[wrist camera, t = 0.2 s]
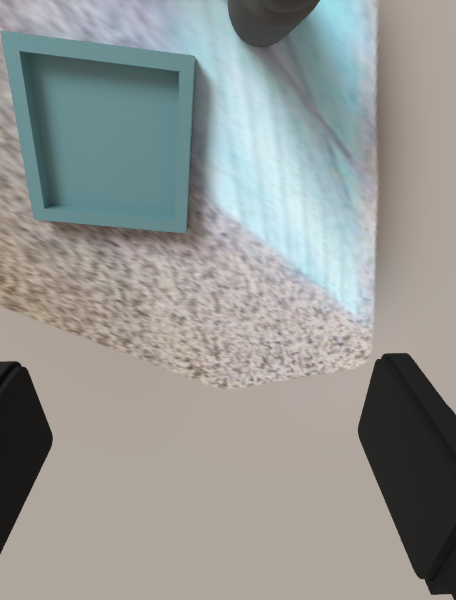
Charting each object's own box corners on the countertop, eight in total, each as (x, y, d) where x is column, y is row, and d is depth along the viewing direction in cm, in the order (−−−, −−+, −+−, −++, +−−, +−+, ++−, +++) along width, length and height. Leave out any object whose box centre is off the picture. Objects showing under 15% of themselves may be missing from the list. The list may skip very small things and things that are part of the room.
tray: (14, 34, 30) (0, 30, 28) (195, 58, 31) (194, 56, 29) (43, 213, 37) (33, 219, 35) (187, 226, 39) (185, 233, 37)
